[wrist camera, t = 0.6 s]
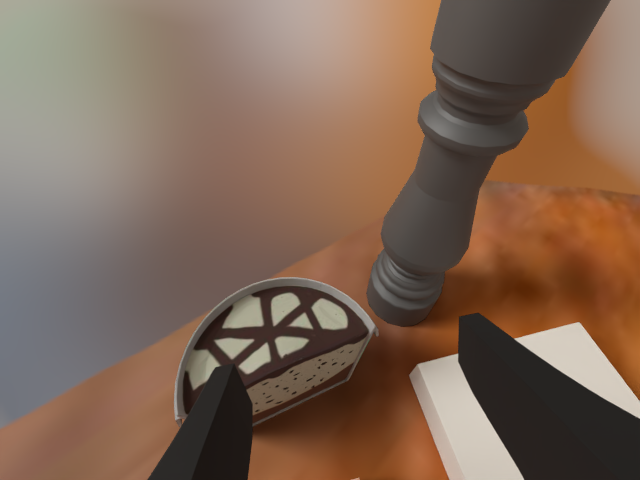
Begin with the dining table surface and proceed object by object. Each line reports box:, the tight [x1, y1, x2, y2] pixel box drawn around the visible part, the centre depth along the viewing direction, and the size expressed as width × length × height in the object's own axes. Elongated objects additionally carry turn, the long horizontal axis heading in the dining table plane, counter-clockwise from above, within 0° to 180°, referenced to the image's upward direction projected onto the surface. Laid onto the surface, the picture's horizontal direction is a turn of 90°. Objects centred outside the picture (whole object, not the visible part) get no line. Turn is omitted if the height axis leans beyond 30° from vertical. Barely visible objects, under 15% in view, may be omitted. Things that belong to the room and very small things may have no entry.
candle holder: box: [366, 0, 610, 327], centre depth 21 cm, size 6×6×25 cm
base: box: [409, 322, 640, 480], centre depth 23 cm, size 14×14×3 cm
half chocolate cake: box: [174, 277, 379, 427], centre depth 23 cm, size 12×6×10 cm, turn 114°
